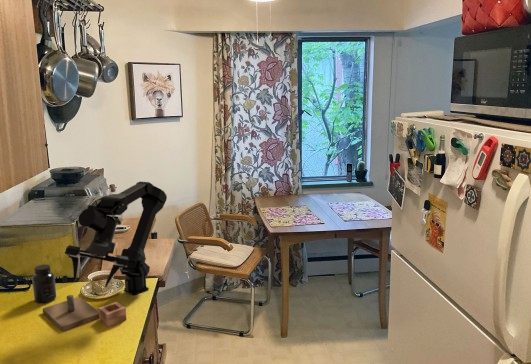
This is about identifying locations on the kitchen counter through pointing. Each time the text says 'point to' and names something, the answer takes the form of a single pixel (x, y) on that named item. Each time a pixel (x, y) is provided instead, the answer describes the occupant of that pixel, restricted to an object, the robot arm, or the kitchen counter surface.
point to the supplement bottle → (44, 284)
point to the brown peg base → (71, 313)
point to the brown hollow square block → (112, 314)
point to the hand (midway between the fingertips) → (90, 284)
